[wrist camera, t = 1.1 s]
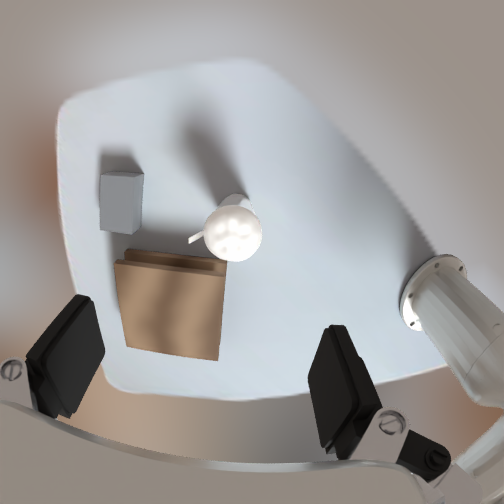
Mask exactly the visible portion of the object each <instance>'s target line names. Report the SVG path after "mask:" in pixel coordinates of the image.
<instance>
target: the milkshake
mask: <svg viewBox="0 0 504 504" xmlns="http://www.w3.org/2000/svg"><path fill="white" fill-rule="evenodd" d="M202 236H204V240H205V244H206V246H207V248H208V249H209V250H210V251H211V252H212V253H213V254H214V255H215V256H217V257H218V258H220V259H223V260H227V261H242V260H245V259H248V258H249V257H250V256H252V255H253V253H254V252H255V251H256V250H257V249H258V247H259V246H260V243H261V240H262V227H261V224H260V222H259V220H258V218H257V216H256V214H255V212H254V209H253V207H252V204H251V201H250V200H249V199H248V198H246V197H245V196H244V195H243V194H231V195H230V196H228V197H226V198H225V199H224V200H223V201H222V202H221V203H220V205H219V206H218V207H217V209H216V210H215V211H214V212H213V213H212V214H211V215H210V216H209V217H208V218H207V220H206V222H205V226H204V230H203V231H201V232H199V233H197V234H195V235H193V236H191V237H189V238H188V244H190V243H192V242H193V241H195V240H197V239H199V238H201V237H202Z"/></svg>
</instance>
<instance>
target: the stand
mask: <svg viewBox="0 0 504 504" xmlns="http://www.w3.org/2000/svg"><path fill="white" fill-rule="evenodd" d="M124 254H125V260H119V259H117V260H116V261H115V263H114V269H115V278H116V286H117V294H118V301H119V307H120V314H121V320H122V325H123V331H124V336H125V341H126V346H127V347H132V348H136V349H142V350H147V351H152V352H158V353H164V354H170V355H176V356H182V357H189V358H197V359H205V360H213V361H218V357H219V345H220V338H221V326H222V314H223V302H224V291H225V280H226V269H227V260H222V259H213V258H204V257H195V256H186V255H178V254H169V253H160V252H152V251H143V250H135V249H127V250H126V251H125V252H124Z"/></svg>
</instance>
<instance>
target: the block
mask: <svg viewBox="0 0 504 504" xmlns="http://www.w3.org/2000/svg"><path fill="white" fill-rule="evenodd" d="M143 183H144V174H142V173H130V172H117V171H111V172H108V173H105V174H102V175H101V176H100V230H104V231H110V232H117V233H124V234H130V235H132V234H133V233H135V232H136V231H137V230H138V229H139V228H140V227H141V219H142V198H143Z"/></svg>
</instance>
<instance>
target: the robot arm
mask: <svg viewBox="0 0 504 504" xmlns="http://www.w3.org/2000/svg"><path fill="white" fill-rule="evenodd" d="M400 314H401V317H402V319H403V321H404V322H405V324H406V325H407V326H408V327H409V328H411V329H412V330H416V331H424V332H425V333H426V335H427V336H428V337H429V339H430V340H431V341H432V343H433V344H434V346H435V347H436V348H437V350H438V351H439V353H440V354H441V356H442V357H443V358H444V360H445V361H446V363H447V364H448V366H449V367H450V369H451V370H452V372H453V373H454V375H455V376H456V378H457V379H458V381H459V383H460V384H461V386H462V387H463V389H464V390H465V392H466V393H467V395H468V396H469V398H470V399H471V400H472V401H473V402H475V403H476V404H478V405H481V406H488V407H500V408H503V410H504V313H503V312H502V311H501V310H500V309H499V308H498V307H497V306H496V305H495V304H494V303H493V302H492V301H491V300H489V299H488V298H487V297H486V296H485V295H484V294H483V293H482V292H481V291H480V290H478V289H477V288H476V287H475V286H474V285H473V284H472V283H470V282H469V281H468V280H467V272H466V268H465V266H464V264H463V263H462V261H460V260H459V259H458V258H457V257H455V256H453V255H448V254H444V255H439V256H436V257H434V258H432V259H430V260H428V261H427V262H426V263H424V264H423V265H422V266H421V267H420V268H419V269H418V270H417V271H416V272H415V273H414V275H413V276H412V277H411V279H410V280H409V282H408V284H407V285H406V287H405V290H404V292H403V294H402V298H401V303H400ZM104 355H105V347H104V343H103V339H102V336H101V332H100V328H99V324H98V319H97V315H96V310H95V306H94V302H93V301H91V299H90V297H88V296H84V295H79V294H77V295H75V296H74V297H73V299H72V300H71V301H70V302H69V303H68V304H67V305H66V306H65V308H64V309H63V310H62V311H61V312H60V313H59V315H58V316H57V317H56V318H55V319H54V320H53V322H52V323H51V324H50V325H49V327H48V328H47V329H46V330H45V331H44V333H43V334H42V335H41V336H40V338H39V339H38V340H37V342H36V343H35V344H34V346H33V347H32V348H31V349H30V351H29V352H28V353H27V355H26V358H27V359H26V361H25V362H24V360H23V359H21V358H19V357H10V358H7V359H6V360H4V361H3V362H2V363H1V364H0V504H504V412H503V414H502V416H501V417H500V418H499V419H498V420H497V421H496V423H495V424H494V425H493V426H492V427H491V428H490V429H488V431H486V432H485V433H484V434H483V435H482V436H481V437H480V438H478V439H477V440H476V441H475V442H474V443H473V444H471V445H470V446H469V447H468V448H466V449H465V450H464V451H463V452H462V453H461V454H459V455H458V456H457V457H456V458H455V459H454V460H453V461H452V462H451V456H450V454H449V451H448V450H447V449H446V448H445V447H444V446H442V445H440V444H438V443H436V442H434V441H432V440H430V439H428V438H426V437H424V436H422V435H420V434H418V433H416V432H414V431H412V430H410V429H409V426H410V424H409V419H408V418H407V416H406V415H405V414H404V413H403V412H402V411H401V410H399V409H397V408H394V407H385V408H383V407H382V404H381V402H380V399H379V397H378V394H377V392H376V389H375V387H374V385H373V382H372V380H371V378H370V375H369V373H368V370H367V368H366V366H365V364H364V361H363V360H362V358H361V357H359V356H358V354H357V351H356V349H355V347H354V344H353V342H352V340H351V338H350V335H349V333H348V331H347V329H346V327H345V326H344V325H330V326H329V328H325V330H324V332H323V335H322V338H321V341H320V344H319V346H318V349H317V352H316V355H315V357H314V360H313V363H312V365H311V368H310V371H309V374H308V384H309V389H310V393H311V398H312V403H313V408H314V413H315V418H316V423H317V428H318V433H319V439H320V443H321V447H322V448H325V449H326V454H332V453H336V455H337V458H338V460H337V461H324V462H310V463H282V464H258V463H235V462H222V461H212V460H202V459H195V458H188V457H182V456H176V455H170V454H165V453H160V452H156V451H151V450H146V449H142V448H138V447H134V446H131V445H127V444H123V443H120V442H116V441H113V440H110V439H106V438H103V437H100V436H97V435H94V434H91V433H88V432H86V431H83V430H81V429H78V428H75V427H73V426H70V425H68V424H65V423H63V422H60V421H58V420H57V416H58V414H60V415H62V416H64V417H66V418H69V419H70V417H71V415H72V413H75V412H76V411H77V409H78V407H79V405H80V402H81V400H82V398H83V396H84V394H85V392H86V390H87V388H88V386H89V384H90V382H91V380H92V378H93V376H94V374H95V372H96V370H97V369H98V367H99V365H100V363H101V361H102V359H103V357H104Z"/></svg>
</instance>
